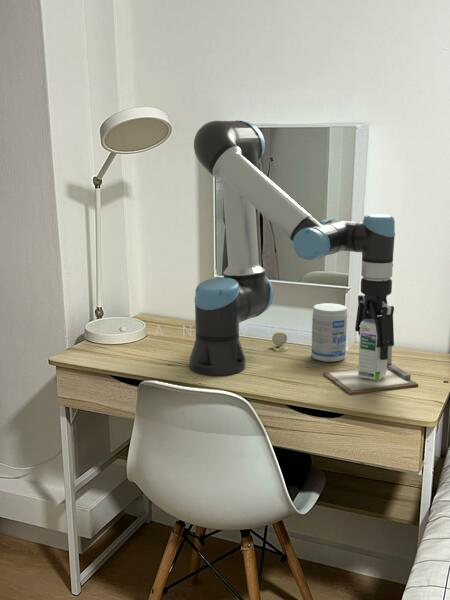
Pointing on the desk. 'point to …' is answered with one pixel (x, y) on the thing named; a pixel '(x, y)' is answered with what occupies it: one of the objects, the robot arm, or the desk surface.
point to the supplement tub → (329, 332)
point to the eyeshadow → (279, 342)
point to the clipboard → (370, 380)
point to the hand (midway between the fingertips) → (372, 365)
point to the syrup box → (368, 351)
